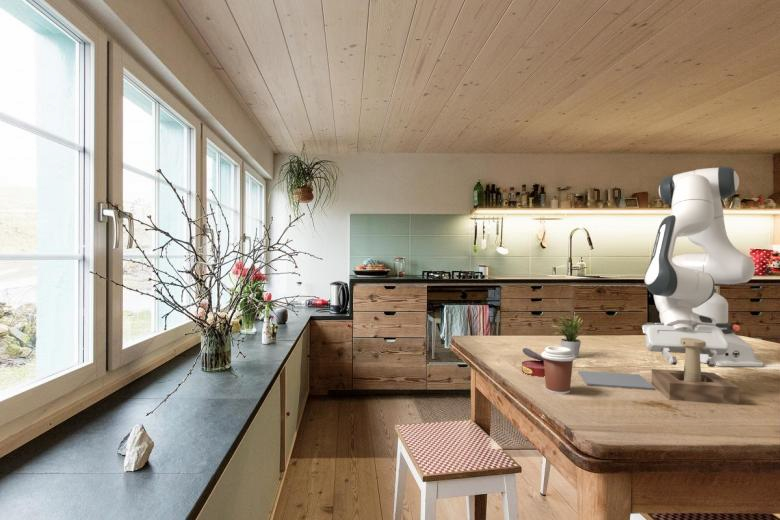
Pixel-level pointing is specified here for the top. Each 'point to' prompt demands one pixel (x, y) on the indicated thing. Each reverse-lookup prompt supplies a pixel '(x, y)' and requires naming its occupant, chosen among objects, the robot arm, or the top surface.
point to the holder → (695, 387)
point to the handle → (692, 358)
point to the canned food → (533, 364)
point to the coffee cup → (558, 368)
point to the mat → (615, 380)
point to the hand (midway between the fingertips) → (692, 364)
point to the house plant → (570, 334)
